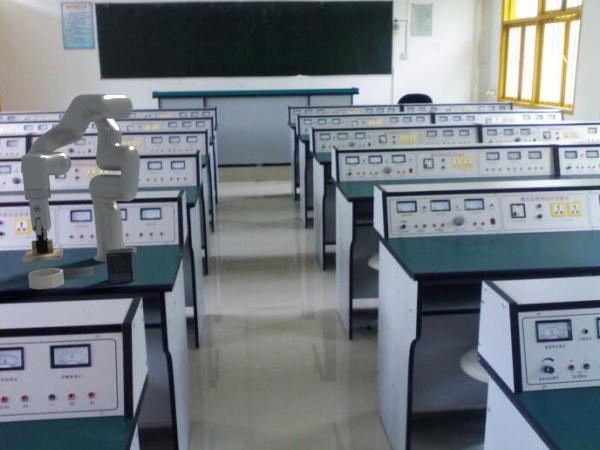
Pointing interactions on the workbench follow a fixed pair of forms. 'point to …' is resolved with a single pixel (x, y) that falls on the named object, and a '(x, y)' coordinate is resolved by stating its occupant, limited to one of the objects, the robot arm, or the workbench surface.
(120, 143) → the robot arm
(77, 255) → the workbench surface
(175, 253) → the workbench surface
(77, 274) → the mat
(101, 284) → the workbench surface
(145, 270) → the workbench surface
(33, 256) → the beige plate with ridge
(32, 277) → the bowl
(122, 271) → the box
